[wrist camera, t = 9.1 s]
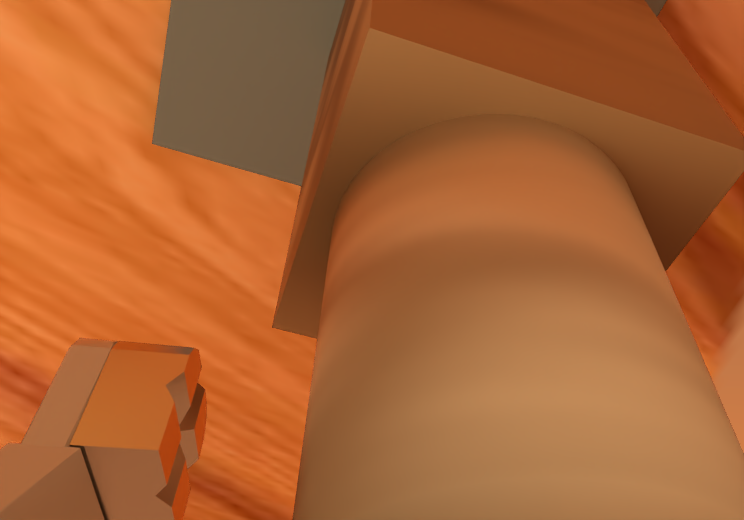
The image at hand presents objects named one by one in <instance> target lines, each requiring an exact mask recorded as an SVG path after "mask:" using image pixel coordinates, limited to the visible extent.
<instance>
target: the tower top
mask: <svg viewBox="0 0 744 520" xmlns="http://www.w3.org/2000/svg"><path fill="white" fill-rule="evenodd" d="M479 114H509V115H518V116H527V117H531V118H536V119H540V120H544V121H548V122H551V123H554V124H556V125H559V126H562V127H564V128H567V129H569V130H571V131H573V132H575V133H576V134H578V135H580V136H582V137H584V138H586V139H587V140H589V141H590V142H591V143H592V144H594V145H595V146H596V147H598V148H599V149H600V150H602V151H603V152H604V153H605V154H606V155H607V156H608V157H609V158H610V159H611V161H612V162H613V163H614V164H615V165H616V166H617V168H618V169H619V171H620V172H621V174H622V175H623V177H624V178H625V180H626V182H627V184H628V186H629V189H630V191H631V193H632V195H633V197H634V200H635V202H636V204H637V207H638V209H639V211H640V214H641V216H642V218H643V221H644V223H645V225H646V228H647V230H648V232H649V235H650V237H651V239H652V242H653V244H654V246H655V249H656V251H657V253H658V256H659V258H660V260H661V263H662V265H663V267H664V270H665V271H666V270H667V269H668V268H669V266H670V265H671V264H672V262H673V261H674V260H675V259H676V257H677V256H678V255H679V254H680V252H681V251H682V250H683V248H684V247H685V246H686V245H687V243H688V242H689V241H690V239H691V238H692V237H693V236H694V234H695V233H696V232H697V230H698V229H699V228H700V227H701V225H702V224H703V223H704V222H705V220H706V219H707V218H708V216H709V215H710V214H711V213H712V211H713V210H714V209H715V207H716V206H717V205H718V204H719V202H720V201H721V200H722V199H723V197H724V196H725V195H726V193H727V192H728V191H729V190H730V188H731V187H732V186H733V184H734V183H735V182H736V181H737V179H738V178H739V177H740V175H741V174H742V173H743V172H744V137H743V135H742V134H741V133H740V131H739V130H738V128H737V127H736V126H735V124H734V123H733V122H732V120H731V119H730V117H729V116H728V115H727V113H726V112H725V111H724V109H723V108H722V106H721V105H720V104H719V102H718V101H717V99H716V98H715V97H714V95H713V94H712V93H711V91H710V90H709V88H708V87H707V86H706V84H705V83H704V82H703V80H702V79H701V77H700V76H699V75H698V73H697V72H696V71H695V69H694V68H693V66H692V65H691V64H690V62H689V61H688V59H687V58H686V57H685V55H684V54H683V53H682V51H681V50H680V48H679V47H678V46H677V44H676V43H675V42H674V40H673V39H672V37H671V36H670V35H669V33H668V32H667V30H666V29H665V28H664V26H663V25H662V24H661V22H660V21H659V19H658V18H657V17H656V15H655V14H654V13H653V11H652V10H651V8H650V7H647V6H644V5H641V4H639V3H636V2H633V1H630V0H355V3H354V6H353V10H352V13H351V16H350V19H349V23H348V26H347V29H346V33H345V36H344V39H343V43H342V46H341V49H340V52H339V56H338V59H337V62H336V66H335V69H334V72H333V75H332V79H331V82H330V85H329V89H328V92H327V95H326V98H325V102H324V105H323V108H322V112H321V115H320V118H319V121H318V125H317V128H316V131H315V135H314V138H313V141H312V144H311V148H310V151H309V154H308V158H307V162H306V167H305V172H304V177H303V182H302V186H301V191H300V196H299V201H298V205H297V210H296V215H295V220H294V225H293V229H292V234H291V239H290V244H289V249H288V253H287V258H286V263H285V268H284V273H283V277H282V282H281V287H280V292H279V297H278V301H277V306H276V311H275V316H274V320H273V325H272V328H276V329H280V330H284V331H288V332H292V333H296V334H300V335H304V336H308V337H312V338H316V339H317V337H318V330H319V323H320V316H321V308H322V301H323V294H324V286H325V279H326V272H327V264H328V257H329V250H330V243H331V235H332V228H333V223H334V219H335V215H336V211H337V208H338V206H339V204H340V201H341V199H342V197H343V194H344V193H345V191H346V190H347V188H348V186H349V185H350V183H351V182H352V180H353V179H354V177H355V176H356V175H357V174H358V173H359V172H360V170H361V169H362V168H363V167H364V166H365V165H366V164H367V163H368V162H369V161H370V160H371V159H372V158H373V157H375V156H376V155H377V154H378V153H379V152H380V151H382V150H383V149H385V148H386V147H388V146H389V145H391V144H392V143H393V142H395V141H396V140H398V139H400V138H402V137H404V136H406V135H408V134H410V133H412V132H414V131H416V130H418V129H421V128H423V127H426V126H429V125H431V124H434V123H437V122H441V121H445V120H449V119H453V118H457V117H463V116H471V115H479Z"/></svg>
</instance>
